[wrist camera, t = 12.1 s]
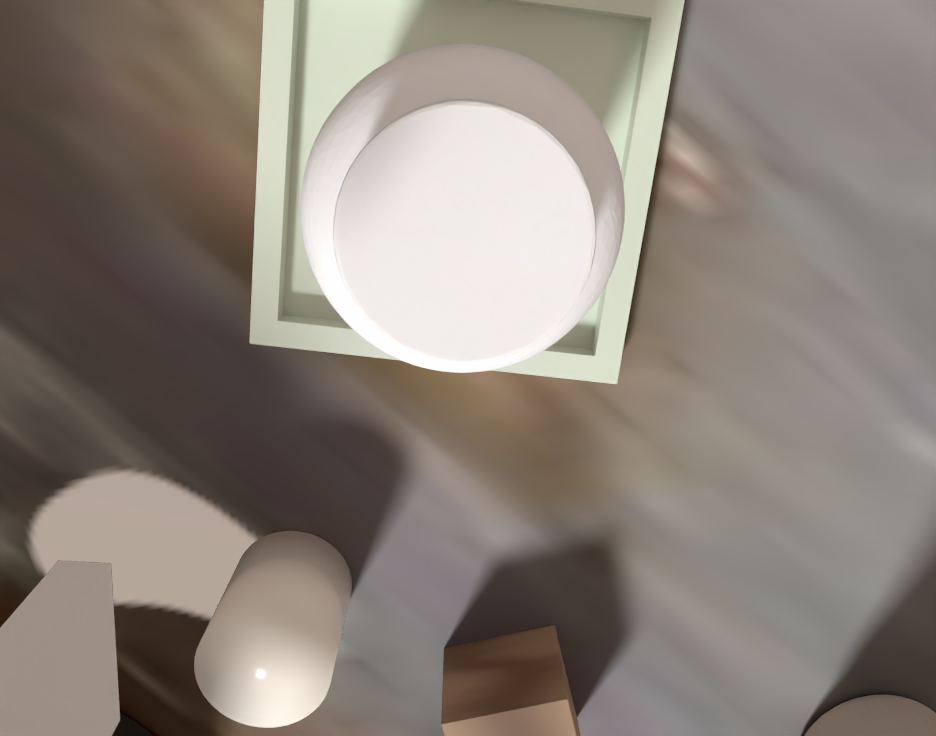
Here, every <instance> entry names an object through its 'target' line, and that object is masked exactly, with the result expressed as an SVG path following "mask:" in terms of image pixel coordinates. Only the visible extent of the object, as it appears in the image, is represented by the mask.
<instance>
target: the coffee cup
mask: <svg viewBox="0 0 936 736" xmlns="http://www.w3.org/2000/svg"><path fill="white" fill-rule="evenodd" d="M805 736H936V713H935V712H934V711H933V710H931V709H930V708H928V707H926V706H925V705H923V704H921V703H919V702H917V701H915V700H911V699H908V698H905V697H902V696H895V695H869V696H864V697H859V698H855V699H852V700H849V701H846V702H844V703H841V704H840V705H838V706H836V707H834V708H833V709H831V710H830V711H828V712H826V713H825V714H823V715H822V716H821V717H820V718H819V719H818V720H817V721H816V722H815V723H814V724H813V725H812V726H811V727H810V728H809V730H808V731H807V732H806V734H805Z"/></svg>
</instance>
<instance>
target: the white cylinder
mask: <svg viewBox="0 0 936 736" xmlns="http://www.w3.org/2000/svg"><path fill="white" fill-rule="evenodd" d="M351 590H352V579H351V574H350V570H349V568H348V565H347V563H346V561H345V560H344V558H343V556H342V555H341V554H340V553H339V552H338V550H336V549H335V548H334V547H333V546H332V545H331V544H329V543H328V542H327V541H325V540H323V539H321V538H320V537H317V536H315V535H312V534H309V533H305V532H299V531H281V532H276V533H272V534H269V535H267V536H265V537H262V538H260V539H259V540H257V541H256V542H254V543H253V544H252V545H251V546H250V547H249V548H248V549H247V550H246V551H245V553H244V554H243V556H242V557H241V559H240V561H239V563H238V565H237V568H236V570H235V571H234V574H233V576H232V578H231V580H230V582H229V584H228V586H227V588H226V590H225V592H224V594H223V596H222V598H221V600H220V602H219V604H218V606H217V608H216V611H215V612H214V614H213V616H212V619H211V621H210V623H209V625H208V627H207V629H206V631H205V633H204V635H203V637H202V639H201V641H200V643H199V645H198V648H197V650H196V654H195V660H194V672H195V677H196V681H197V683H198V686H199V688H200V690H201V692H202V694H203V695H204V697H205V698H206V699H207V701H208V702H209V703H210V704H211V705H212V706H213V707H214V708H215V709H217V710H218V711H219V712H220V713H222V714H223V715H225V716H226V717H228V718H230V719H232V720H234V721H237V722H239V723H242V724H246V725H249V726H255V727H267V728H270V727H280V726H285V725H289V724H292V723H295V722H297V721H299V720H302V719H303V718H305V717H307V716H308V715H309V714H311V713H312V712H313V711H315V709H316V708H317V707H318V706H319V705H320V704H321V703H322V701H323V700H324V698H325V696H326V694H327V692H328V689H329V686H330V683H331V678H332V674H333V670H334V665H335V661H336V657H337V652H338V648H339V644H340V639H341V635H342V631H343V626H344V622H345V618H346V613H347V609H348V605H349V600H350V596H351Z"/></svg>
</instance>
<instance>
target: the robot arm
mask: <svg viewBox="0 0 936 736" xmlns="http://www.w3.org/2000/svg"><path fill="white" fill-rule="evenodd" d="M0 736H153V735H152V734H151V733H150V732H148V731H147V730H146V729H145V728H143V727H142V726H140V725H139V724H137V723H136V722H135V721H133V720H131V719H130V718H128V717H127V716H125V715H123V714H121V713H120V708H119V691H118V673H117V656H116V639H115V621H114V604H113V587H112V569H111V563H98V562H77V561H57V563H56V564H55V565H54V566H53V567H52V568H51V570H50V571H49V572H48V573H47V574H46V575H45V577H44V578H43V579H42V580H41V581H40V582H39V584H38V585H37V586H36V587H35V588H34V589H33V590H32V592H31V593H30V594H29V595H28V596H27V597H26V599H25V600H24V601H23V602H22V603H21V604H20V606H19V607H18V608H17V609H16V610H15V611H14V612H13V614H12V615H11V616H10V617H9V618H8V619H7V621H6V622H5V623H4V624H3V625H2V626H1V628H0Z"/></svg>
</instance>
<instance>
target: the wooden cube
mask: <svg viewBox="0 0 936 736" xmlns="http://www.w3.org/2000/svg"><path fill="white" fill-rule="evenodd" d="M441 725H442V729H443V732H444V735H445V736H580V731H579V726H578V720H577V715H576V711H575V707H574V703H573V699H572V695H571V691H570V686H569V682H568V678H567V674H566V670H565V666H564V662H563V657H562V653H561V649H560V645H559V641H558V637H557V633H556V628H555V625H552V626H547V627H542V628H537V629H533V630H528V631H523V632H518V633H513V634H508V635H504V636H499V637H494V638H489V639H484V640H480V641H475V642H470V643H465V644H460V645H455V646H451V647H446V648H444V666H443V693H442V720H441Z"/></svg>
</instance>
